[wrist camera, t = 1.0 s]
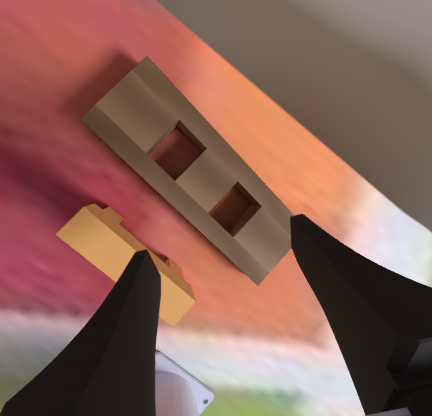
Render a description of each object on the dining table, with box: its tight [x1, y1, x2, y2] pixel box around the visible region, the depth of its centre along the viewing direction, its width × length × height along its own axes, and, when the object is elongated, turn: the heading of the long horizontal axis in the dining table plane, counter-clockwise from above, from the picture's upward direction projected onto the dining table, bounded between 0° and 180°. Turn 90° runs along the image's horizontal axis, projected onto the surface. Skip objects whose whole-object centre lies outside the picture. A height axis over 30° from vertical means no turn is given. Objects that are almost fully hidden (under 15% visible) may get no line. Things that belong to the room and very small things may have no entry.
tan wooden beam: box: [55, 204, 196, 327], centre depth 20 cm, size 2×10×6 cm, turn 45°
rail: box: [80, 56, 294, 285], centre depth 22 cm, size 7×20×2 cm, turn 45°
